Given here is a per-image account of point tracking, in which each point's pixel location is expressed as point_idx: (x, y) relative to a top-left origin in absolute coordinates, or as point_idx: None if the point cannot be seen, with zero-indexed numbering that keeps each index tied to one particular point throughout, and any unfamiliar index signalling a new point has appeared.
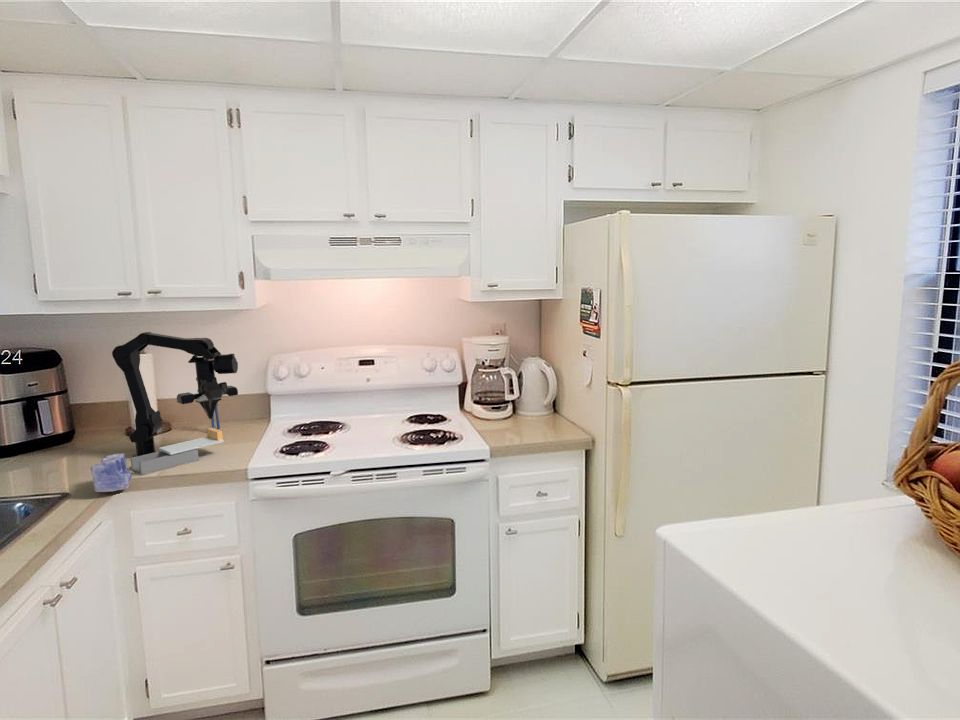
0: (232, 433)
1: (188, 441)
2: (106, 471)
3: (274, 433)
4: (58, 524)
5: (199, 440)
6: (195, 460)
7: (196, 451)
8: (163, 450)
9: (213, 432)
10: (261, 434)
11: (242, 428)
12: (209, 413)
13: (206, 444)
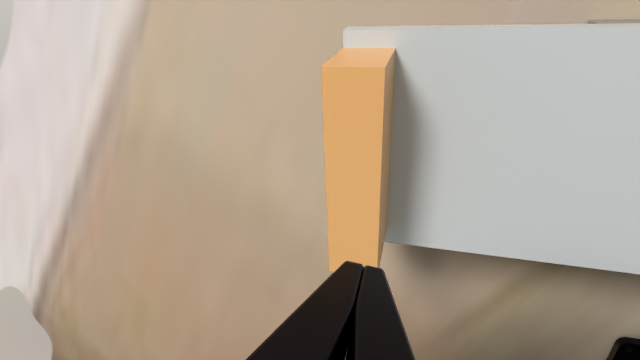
0: (185, 317)
1: (562, 247)
2: None
3: (28, 162)
4: None
5: (489, 198)
6: (621, 21)
7: None
8: None
9: (383, 151)
10: (83, 201)
11: (135, 334)
12: (377, 335)
13: (539, 26)
